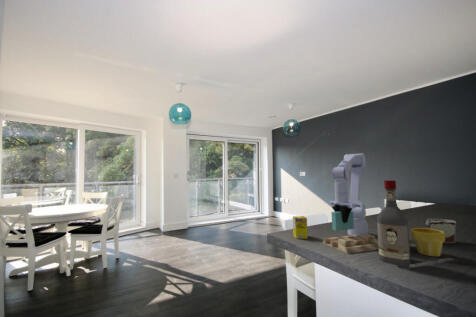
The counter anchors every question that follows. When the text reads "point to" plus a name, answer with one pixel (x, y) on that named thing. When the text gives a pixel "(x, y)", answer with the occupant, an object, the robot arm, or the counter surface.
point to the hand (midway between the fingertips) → (342, 222)
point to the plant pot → (428, 241)
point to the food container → (443, 228)
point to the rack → (354, 249)
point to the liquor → (393, 230)
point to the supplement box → (300, 227)
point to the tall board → (338, 223)
